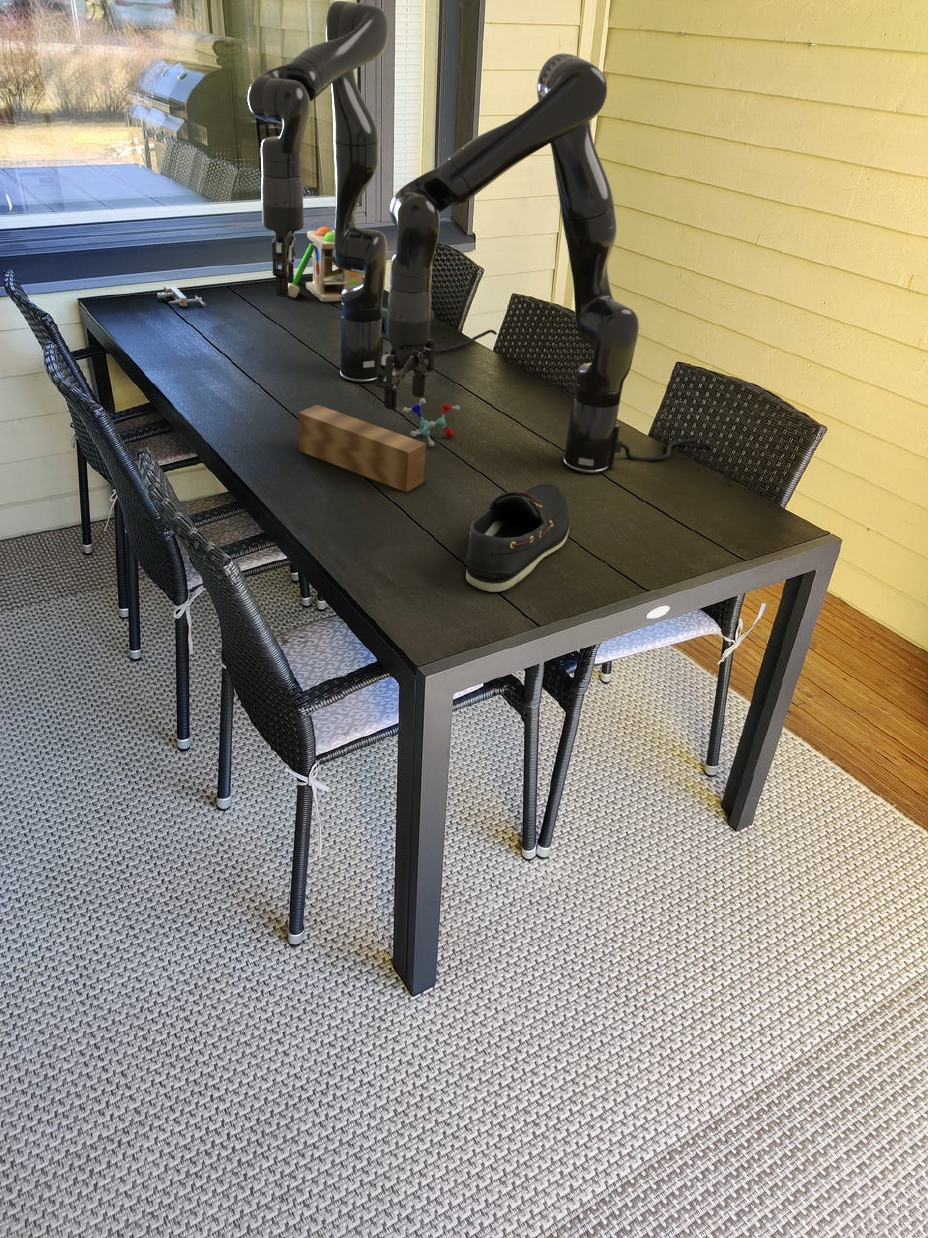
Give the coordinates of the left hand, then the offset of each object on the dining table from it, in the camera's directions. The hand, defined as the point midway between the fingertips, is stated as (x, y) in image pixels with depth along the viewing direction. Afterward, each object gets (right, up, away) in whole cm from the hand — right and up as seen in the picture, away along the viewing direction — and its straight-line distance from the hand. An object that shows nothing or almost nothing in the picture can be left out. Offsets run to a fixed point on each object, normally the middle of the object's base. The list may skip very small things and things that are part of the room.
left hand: (285, 288), depth 190 cm
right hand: (+24, -24, -11) cm, 36 cm away
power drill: (+15, +16, +75) cm, 78 cm away
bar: (+14, -34, +2) cm, 37 cm away
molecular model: (+27, -26, +16) cm, 41 cm away
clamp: (-42, +22, +76) cm, 90 cm away
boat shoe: (+44, -52, -19) cm, 70 cm away
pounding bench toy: (-6, +29, +92) cm, 97 cm away
